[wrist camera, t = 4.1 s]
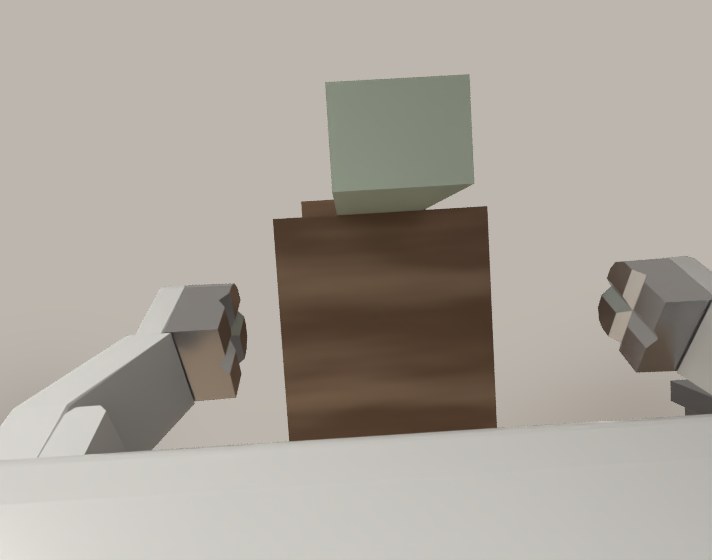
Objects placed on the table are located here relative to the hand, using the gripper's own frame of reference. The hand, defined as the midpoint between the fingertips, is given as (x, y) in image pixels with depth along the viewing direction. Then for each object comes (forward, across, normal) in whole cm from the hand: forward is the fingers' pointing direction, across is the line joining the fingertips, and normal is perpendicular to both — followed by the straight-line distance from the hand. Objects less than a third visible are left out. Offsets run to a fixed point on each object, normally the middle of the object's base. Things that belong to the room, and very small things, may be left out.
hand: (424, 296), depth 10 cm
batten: (+13, 0, +4) cm, 13 cm away
